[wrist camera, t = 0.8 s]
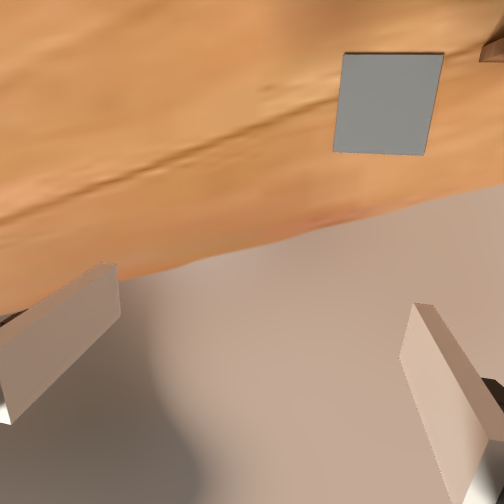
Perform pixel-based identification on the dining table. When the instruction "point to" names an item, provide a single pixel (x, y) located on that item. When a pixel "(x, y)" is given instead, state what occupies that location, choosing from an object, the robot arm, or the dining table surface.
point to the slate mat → (386, 103)
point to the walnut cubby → (493, 52)
